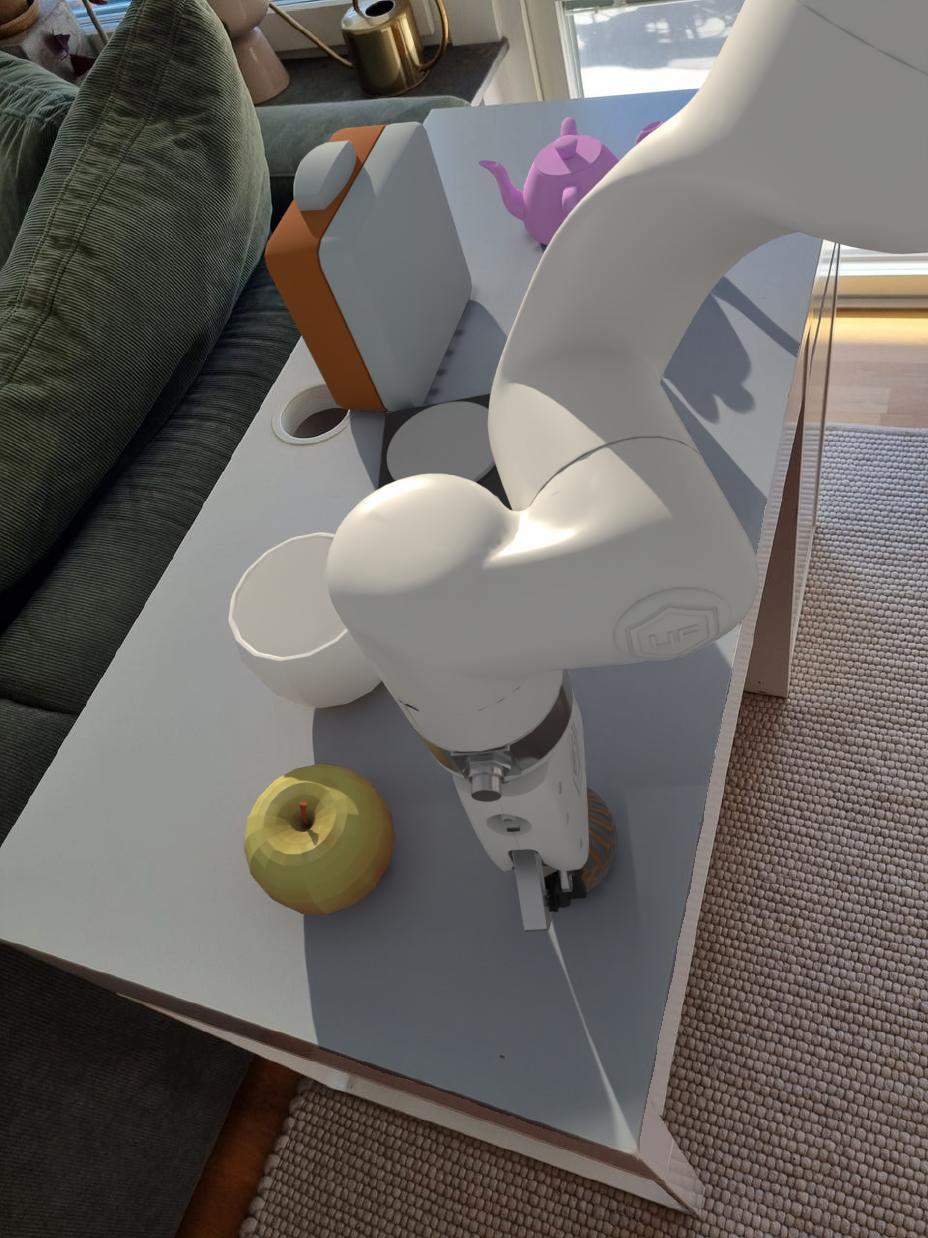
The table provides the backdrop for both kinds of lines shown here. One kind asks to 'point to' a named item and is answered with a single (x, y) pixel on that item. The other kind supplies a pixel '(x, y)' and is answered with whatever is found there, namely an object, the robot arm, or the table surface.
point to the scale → (441, 444)
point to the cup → (297, 627)
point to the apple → (319, 839)
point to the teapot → (557, 179)
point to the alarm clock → (372, 265)
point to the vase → (598, 841)
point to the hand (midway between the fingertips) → (558, 832)
